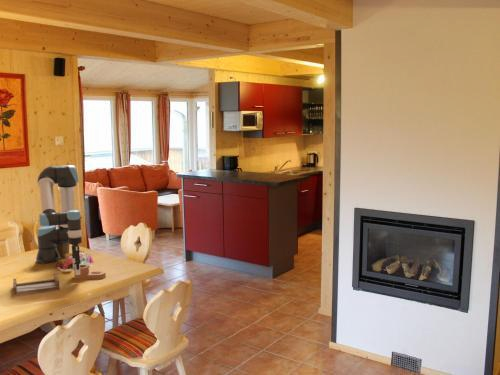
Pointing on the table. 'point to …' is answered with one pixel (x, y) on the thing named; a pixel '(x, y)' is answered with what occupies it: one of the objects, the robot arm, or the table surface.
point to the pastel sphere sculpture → (67, 263)
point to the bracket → (89, 273)
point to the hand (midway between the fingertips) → (76, 271)
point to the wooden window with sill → (36, 286)
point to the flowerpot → (63, 248)
